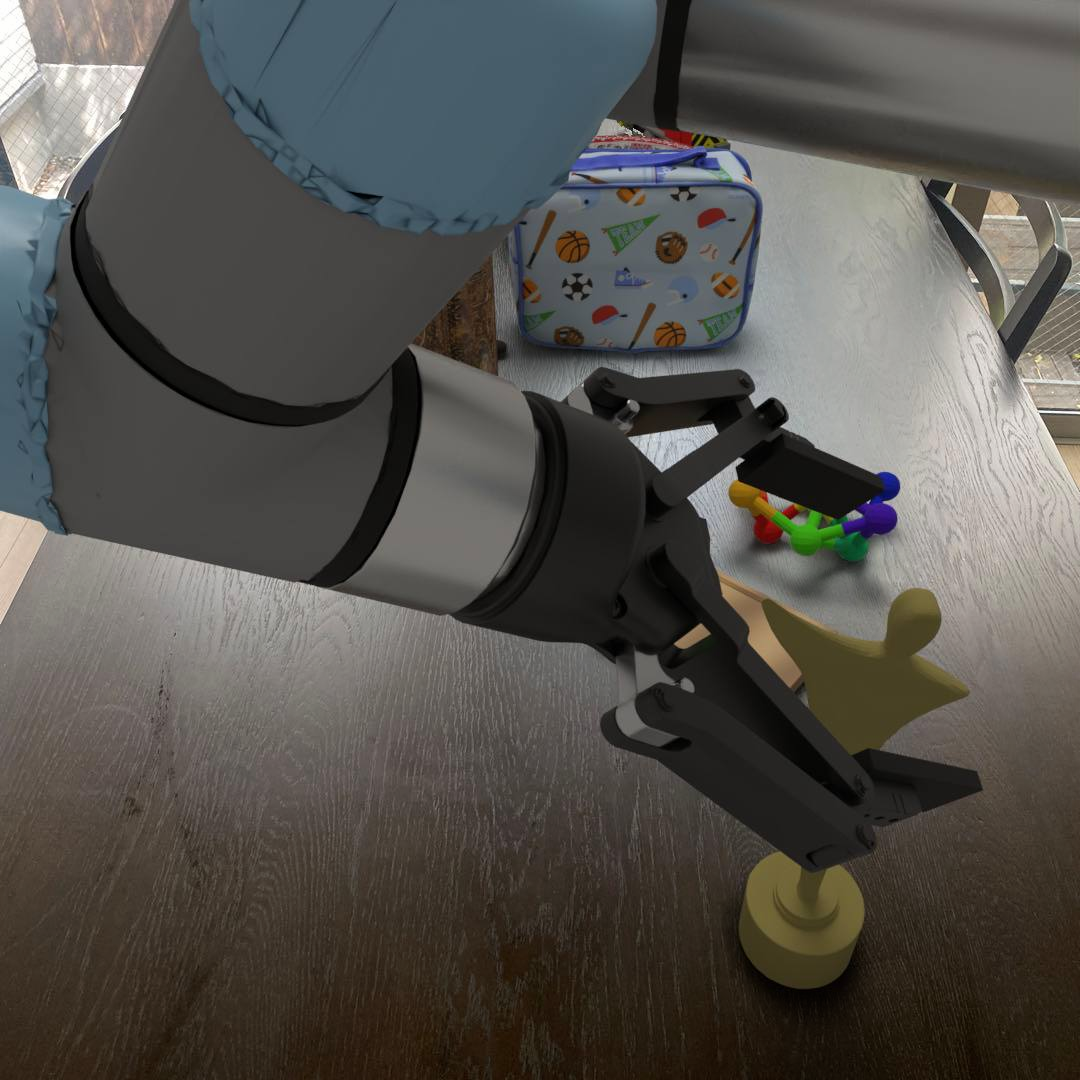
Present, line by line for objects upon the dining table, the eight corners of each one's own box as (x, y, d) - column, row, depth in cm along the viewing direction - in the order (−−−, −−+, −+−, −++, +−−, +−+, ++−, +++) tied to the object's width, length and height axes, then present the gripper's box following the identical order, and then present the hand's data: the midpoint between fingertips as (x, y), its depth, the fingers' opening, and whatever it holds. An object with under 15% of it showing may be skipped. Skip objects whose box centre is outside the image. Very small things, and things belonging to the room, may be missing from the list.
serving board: (835, 645, 87) (838, 631, 86) (756, 737, 80) (758, 723, 79) (690, 569, 94) (692, 556, 93) (606, 648, 87) (607, 635, 86)
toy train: (692, 178, 154) (697, 107, 148) (615, 135, 167) (617, 68, 160) (729, 167, 157) (736, 97, 150) (650, 126, 169) (654, 59, 163)
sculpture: (866, 883, 71) (985, 544, 51) (891, 990, 66) (1035, 658, 46) (698, 882, 71) (751, 545, 51) (710, 989, 66) (774, 658, 46)
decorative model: (756, 439, 101) (922, 445, 94) (760, 526, 104) (922, 538, 97) (704, 485, 91) (886, 496, 83) (711, 580, 94) (887, 599, 86)
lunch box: (744, 308, 127) (768, 120, 112) (761, 356, 119) (789, 161, 104) (511, 315, 126) (504, 128, 112) (512, 364, 119) (505, 169, 104)
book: (510, 449, 107) (500, 210, 90) (469, 474, 104) (451, 232, 88) (404, 385, 116) (376, 157, 99) (363, 407, 113) (328, 175, 96)
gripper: (401, 284, 42) (771, 441, 54) (434, 951, 29) (911, 968, 41) (511, 148, 37) (892, 354, 49) (610, 877, 24) (1095, 920, 36)
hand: (901, 634), depth 45 cm, fingers open, 13 cm apart
